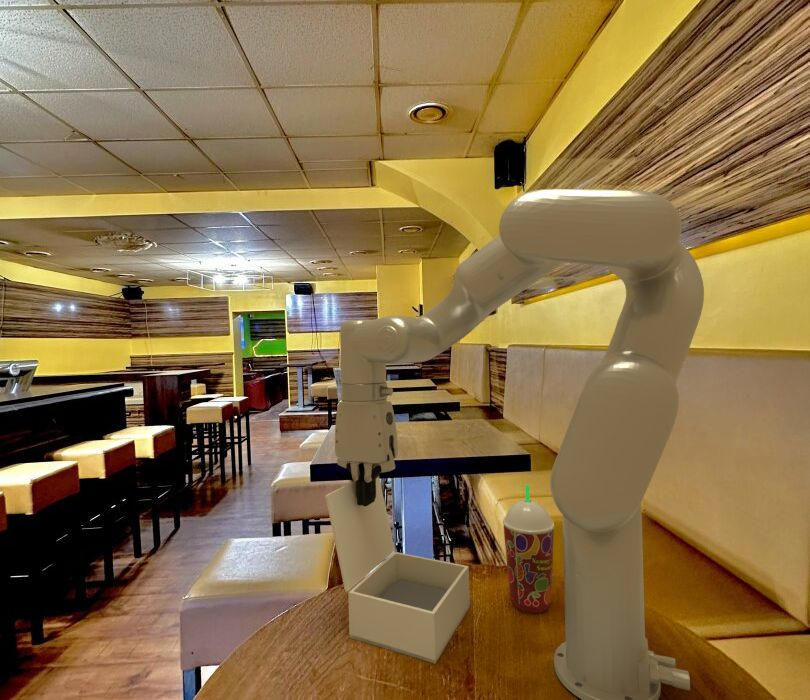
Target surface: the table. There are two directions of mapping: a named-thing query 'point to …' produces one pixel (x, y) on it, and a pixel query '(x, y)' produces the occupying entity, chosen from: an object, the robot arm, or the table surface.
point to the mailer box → (410, 605)
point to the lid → (359, 532)
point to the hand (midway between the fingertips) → (366, 503)
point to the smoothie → (529, 554)
